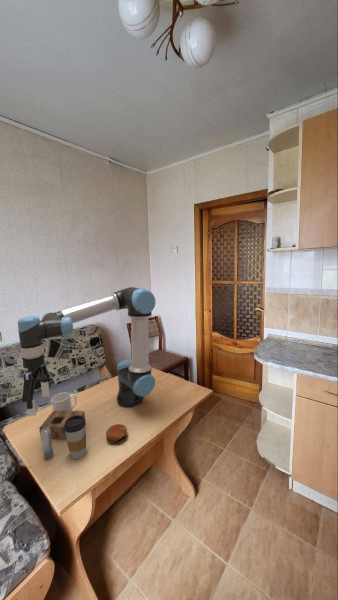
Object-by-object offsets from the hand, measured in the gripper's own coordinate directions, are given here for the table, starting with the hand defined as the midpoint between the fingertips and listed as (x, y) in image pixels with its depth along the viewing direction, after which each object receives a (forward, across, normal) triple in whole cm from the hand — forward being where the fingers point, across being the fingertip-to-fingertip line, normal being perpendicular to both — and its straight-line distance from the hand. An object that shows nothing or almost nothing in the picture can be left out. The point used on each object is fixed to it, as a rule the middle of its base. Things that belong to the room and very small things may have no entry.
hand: (39, 405), depth 101 cm
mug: (+22, -25, +1) cm, 33 cm away
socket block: (+21, -13, +3) cm, 25 cm away
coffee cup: (+22, +3, +14) cm, 26 cm away
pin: (+22, +3, +2) cm, 22 cm away
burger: (+22, -4, +29) cm, 37 cm away
